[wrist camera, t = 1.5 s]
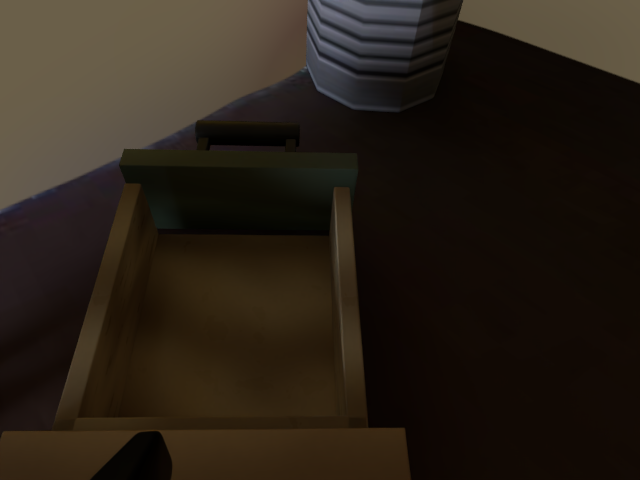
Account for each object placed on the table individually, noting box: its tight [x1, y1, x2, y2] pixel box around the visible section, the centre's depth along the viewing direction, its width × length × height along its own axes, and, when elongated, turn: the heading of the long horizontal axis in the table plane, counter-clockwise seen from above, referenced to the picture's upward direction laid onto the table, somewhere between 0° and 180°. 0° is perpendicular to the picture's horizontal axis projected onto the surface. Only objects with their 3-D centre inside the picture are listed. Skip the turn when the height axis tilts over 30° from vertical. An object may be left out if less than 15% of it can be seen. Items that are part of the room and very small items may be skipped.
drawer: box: [52, 120, 369, 431], centre depth 24 cm, size 18×12×5 cm, turn 1°
